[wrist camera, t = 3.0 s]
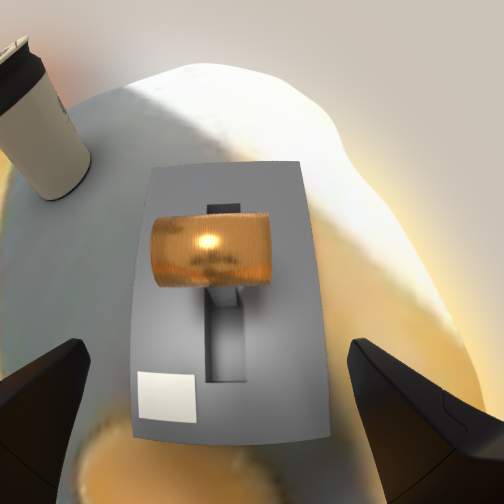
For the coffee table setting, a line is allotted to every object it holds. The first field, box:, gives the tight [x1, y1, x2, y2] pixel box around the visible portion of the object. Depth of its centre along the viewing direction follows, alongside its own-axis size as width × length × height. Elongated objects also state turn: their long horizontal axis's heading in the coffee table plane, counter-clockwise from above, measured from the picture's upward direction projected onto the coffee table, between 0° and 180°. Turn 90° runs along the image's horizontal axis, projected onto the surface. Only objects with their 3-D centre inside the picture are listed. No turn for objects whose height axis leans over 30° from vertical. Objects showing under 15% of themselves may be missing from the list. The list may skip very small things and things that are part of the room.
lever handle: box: [150, 212, 272, 307], centre depth 15 cm, size 3×5×10 cm
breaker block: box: [130, 161, 330, 445], centre depth 19 cm, size 20×12×4 cm, turn 2°
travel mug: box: [0, 36, 90, 200], centre depth 18 cm, size 8×8×18 cm
